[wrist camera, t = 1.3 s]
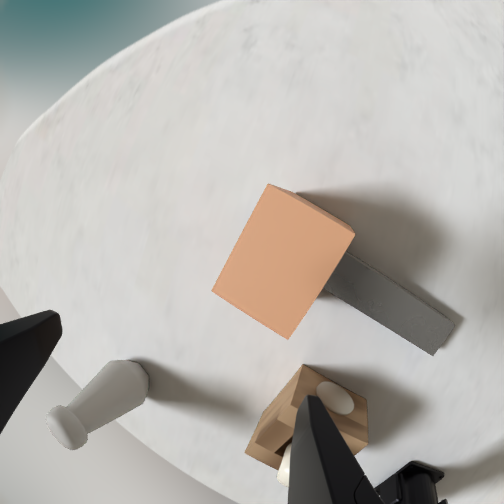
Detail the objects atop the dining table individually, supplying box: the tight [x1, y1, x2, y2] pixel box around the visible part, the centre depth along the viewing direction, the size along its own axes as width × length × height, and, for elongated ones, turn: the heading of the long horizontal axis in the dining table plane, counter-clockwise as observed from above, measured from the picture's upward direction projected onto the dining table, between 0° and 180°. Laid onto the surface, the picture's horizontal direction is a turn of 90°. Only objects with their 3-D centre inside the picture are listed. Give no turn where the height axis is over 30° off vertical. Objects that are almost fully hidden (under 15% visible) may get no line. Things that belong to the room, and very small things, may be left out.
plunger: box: [277, 443, 292, 487], centre depth 17 cm, size 3×3×3 cm
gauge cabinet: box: [244, 365, 368, 470], centre depth 21 cm, size 7×7×6 cm
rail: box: [323, 251, 455, 356], centre depth 21 cm, size 18×3×2 cm, turn 61°
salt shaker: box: [46, 360, 149, 450], centre depth 24 cm, size 6×6×13 cm
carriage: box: [212, 184, 355, 340], centre depth 19 cm, size 5×7×8 cm
